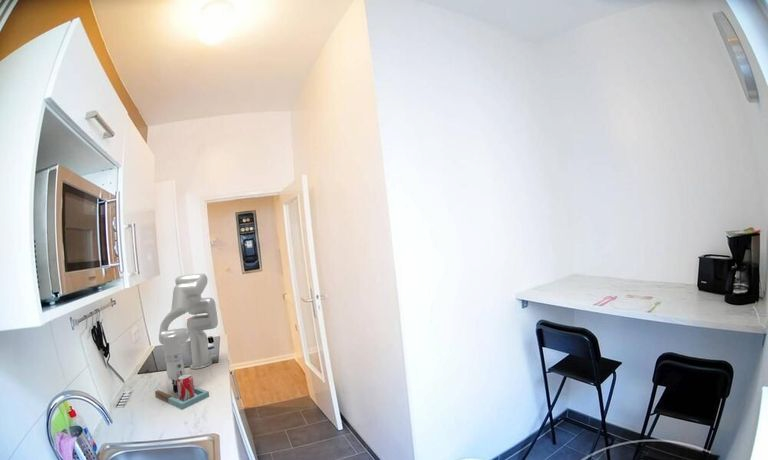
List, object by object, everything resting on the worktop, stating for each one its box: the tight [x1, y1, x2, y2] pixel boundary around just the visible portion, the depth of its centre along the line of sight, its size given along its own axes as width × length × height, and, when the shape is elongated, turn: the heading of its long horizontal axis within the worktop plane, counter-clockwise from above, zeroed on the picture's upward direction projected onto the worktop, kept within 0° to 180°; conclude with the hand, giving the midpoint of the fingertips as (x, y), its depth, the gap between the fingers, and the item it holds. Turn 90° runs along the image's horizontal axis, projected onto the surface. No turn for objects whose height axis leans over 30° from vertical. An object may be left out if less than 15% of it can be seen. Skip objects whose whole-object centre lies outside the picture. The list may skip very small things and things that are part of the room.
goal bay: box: [168, 386, 210, 410], centre depth 176 cm, size 13×14×2 cm
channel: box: [154, 385, 196, 404], centre depth 184 cm, size 13×14×3 cm
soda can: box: [177, 373, 195, 402], centre depth 176 cm, size 7×7×12 cm
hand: (177, 391), depth 183 cm, fingers closed
